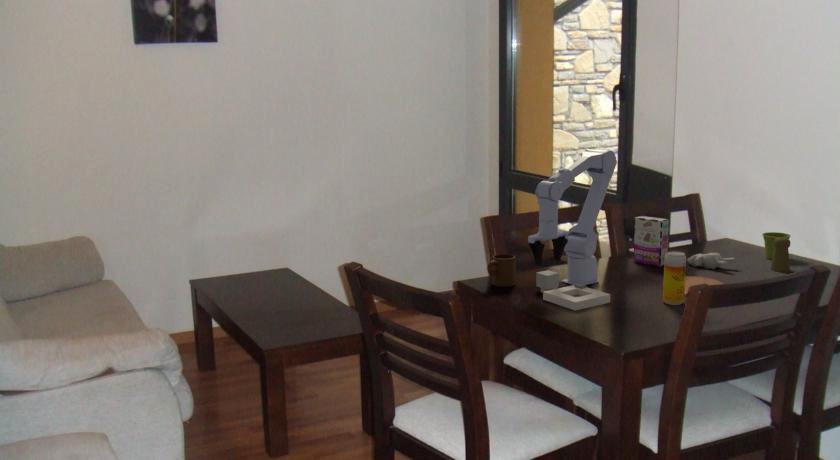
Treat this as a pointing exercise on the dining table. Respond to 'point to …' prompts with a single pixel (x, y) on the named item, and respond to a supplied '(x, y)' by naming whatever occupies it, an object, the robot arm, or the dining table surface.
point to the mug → (503, 270)
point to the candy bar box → (650, 240)
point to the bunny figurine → (709, 260)
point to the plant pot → (772, 242)
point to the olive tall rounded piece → (781, 255)
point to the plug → (547, 280)
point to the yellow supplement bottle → (674, 278)
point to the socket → (576, 297)
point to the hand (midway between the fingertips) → (547, 262)
